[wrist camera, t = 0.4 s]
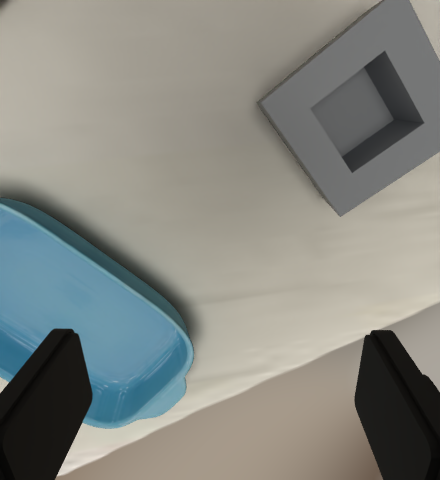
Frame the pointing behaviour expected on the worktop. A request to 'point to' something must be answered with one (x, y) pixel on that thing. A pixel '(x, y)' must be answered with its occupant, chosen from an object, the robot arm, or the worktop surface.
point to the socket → (362, 106)
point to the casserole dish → (89, 317)
